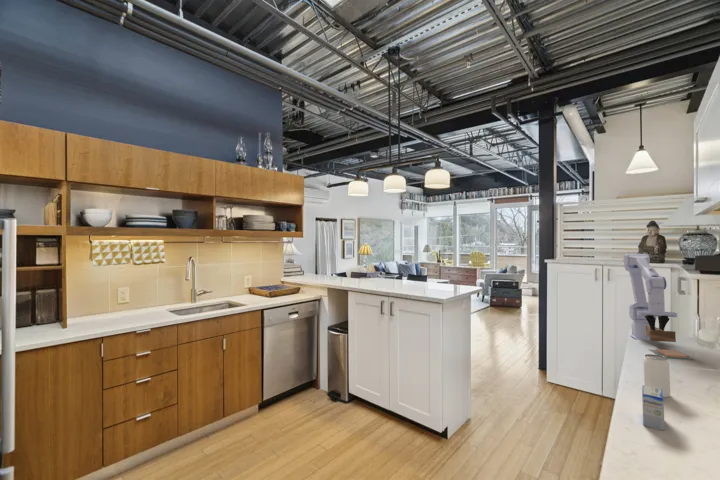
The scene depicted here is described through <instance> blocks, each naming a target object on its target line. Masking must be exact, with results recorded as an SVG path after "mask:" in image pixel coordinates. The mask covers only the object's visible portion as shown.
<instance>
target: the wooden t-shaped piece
mask: <svg viewBox="0 0 720 480" xmlns="http://www.w3.org/2000/svg"><path fill="white" fill-rule="evenodd" d="M646 335H648V336H650V340H651V341H652V342H667V343H677V339H676V337H677V336H676V331H673V330H671V331H669V330H665V329H664V330H661V329H659V327H657V326H655V330H651V328H650V326H646ZM650 340H649V341H650Z"/></svg>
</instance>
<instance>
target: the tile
mask: <svg viewBox="0 0 720 480" xmlns="http://www.w3.org/2000/svg"><path fill="white" fill-rule="evenodd" d="M656 350H657V352H658V353H660V354H661V355H663V356H665V357H668V358H667V359H669V358H682V359H681V360H683V359H687V356H688V355H687V354H685V353H683V352H681V351H680V352H681V353H680V352H678V351H679V350H676V349H675V350H674V349H661V348H656ZM682 353H683V354H682ZM684 354H685V355H684ZM686 355H687V356H686Z"/></svg>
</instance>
